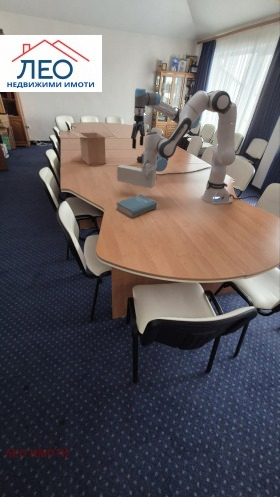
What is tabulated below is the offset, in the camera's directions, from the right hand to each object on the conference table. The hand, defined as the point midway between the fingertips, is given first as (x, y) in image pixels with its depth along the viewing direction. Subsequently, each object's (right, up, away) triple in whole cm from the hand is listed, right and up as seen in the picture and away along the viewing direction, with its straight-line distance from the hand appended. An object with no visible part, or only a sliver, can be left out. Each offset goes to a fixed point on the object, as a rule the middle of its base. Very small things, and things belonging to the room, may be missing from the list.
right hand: (148, 178), depth 158 cm
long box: (-9, -2, +6) cm, 11 cm away
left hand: (-8, +28, +12) cm, 32 cm away
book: (-8, -23, -7) cm, 26 cm away
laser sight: (+1, +44, +85) cm, 95 cm away
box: (-56, +44, +78) cm, 106 cm away
